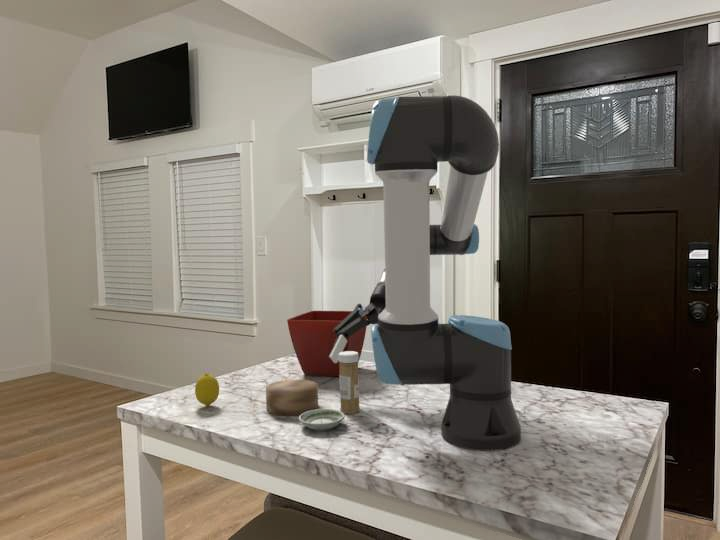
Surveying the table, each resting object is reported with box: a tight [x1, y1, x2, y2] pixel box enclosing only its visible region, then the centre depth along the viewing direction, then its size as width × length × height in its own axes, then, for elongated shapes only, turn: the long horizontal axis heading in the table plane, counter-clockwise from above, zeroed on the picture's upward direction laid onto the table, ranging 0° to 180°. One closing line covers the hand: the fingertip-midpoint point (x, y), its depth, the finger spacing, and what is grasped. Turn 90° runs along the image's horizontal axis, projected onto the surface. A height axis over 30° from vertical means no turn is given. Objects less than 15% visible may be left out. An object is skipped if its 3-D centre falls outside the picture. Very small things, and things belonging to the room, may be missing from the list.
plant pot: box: [286, 310, 368, 377], centre depth 158 cm, size 19×19×17 cm
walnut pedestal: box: [265, 379, 319, 417], centre depth 124 cm, size 12×12×5 cm
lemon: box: [194, 373, 220, 407], centre depth 126 cm, size 6×6×8 cm
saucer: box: [298, 408, 346, 432], centre depth 111 cm, size 10×10×2 cm
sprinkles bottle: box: [338, 351, 361, 415], centre depth 121 cm, size 5×5×14 cm
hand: (355, 363), depth 124 cm, fingers open, 13 cm apart
